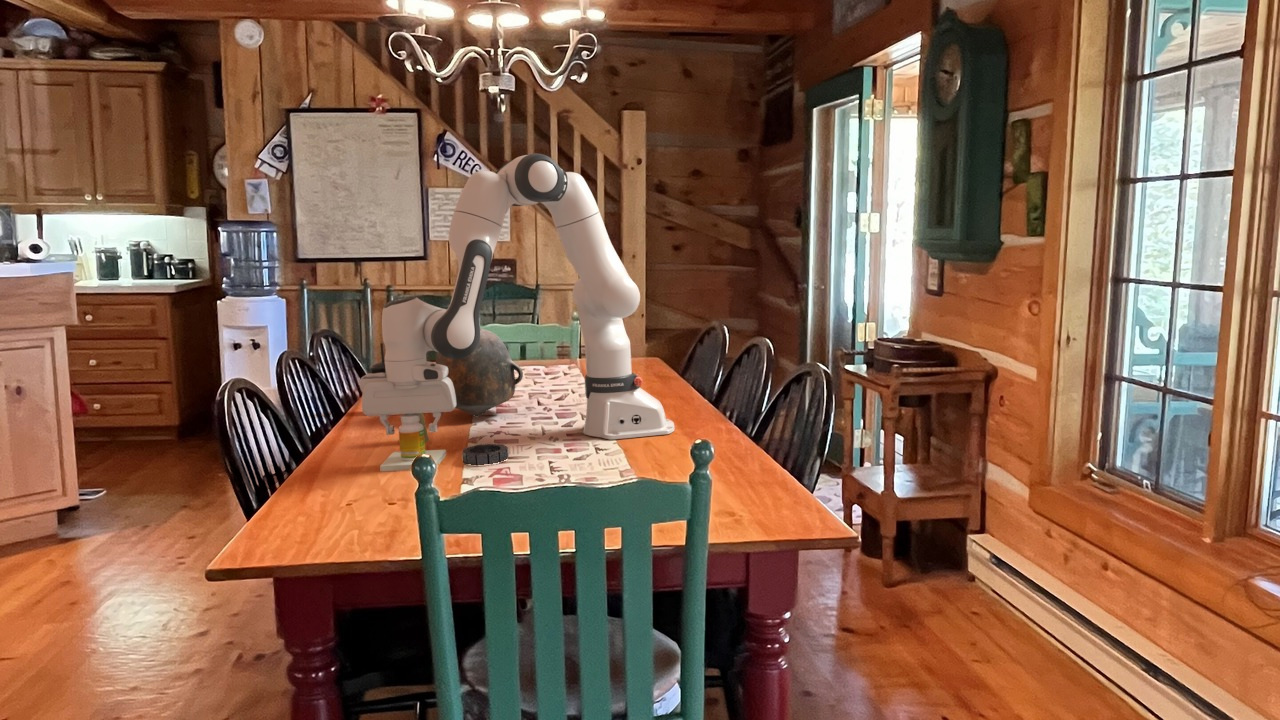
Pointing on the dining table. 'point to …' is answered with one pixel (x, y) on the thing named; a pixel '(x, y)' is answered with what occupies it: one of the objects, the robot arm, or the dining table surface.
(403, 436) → the supplement bottle
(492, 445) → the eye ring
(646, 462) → the dining table surface
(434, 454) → the board
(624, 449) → the dining table surface
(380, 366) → the drinking cup
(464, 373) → the jug
